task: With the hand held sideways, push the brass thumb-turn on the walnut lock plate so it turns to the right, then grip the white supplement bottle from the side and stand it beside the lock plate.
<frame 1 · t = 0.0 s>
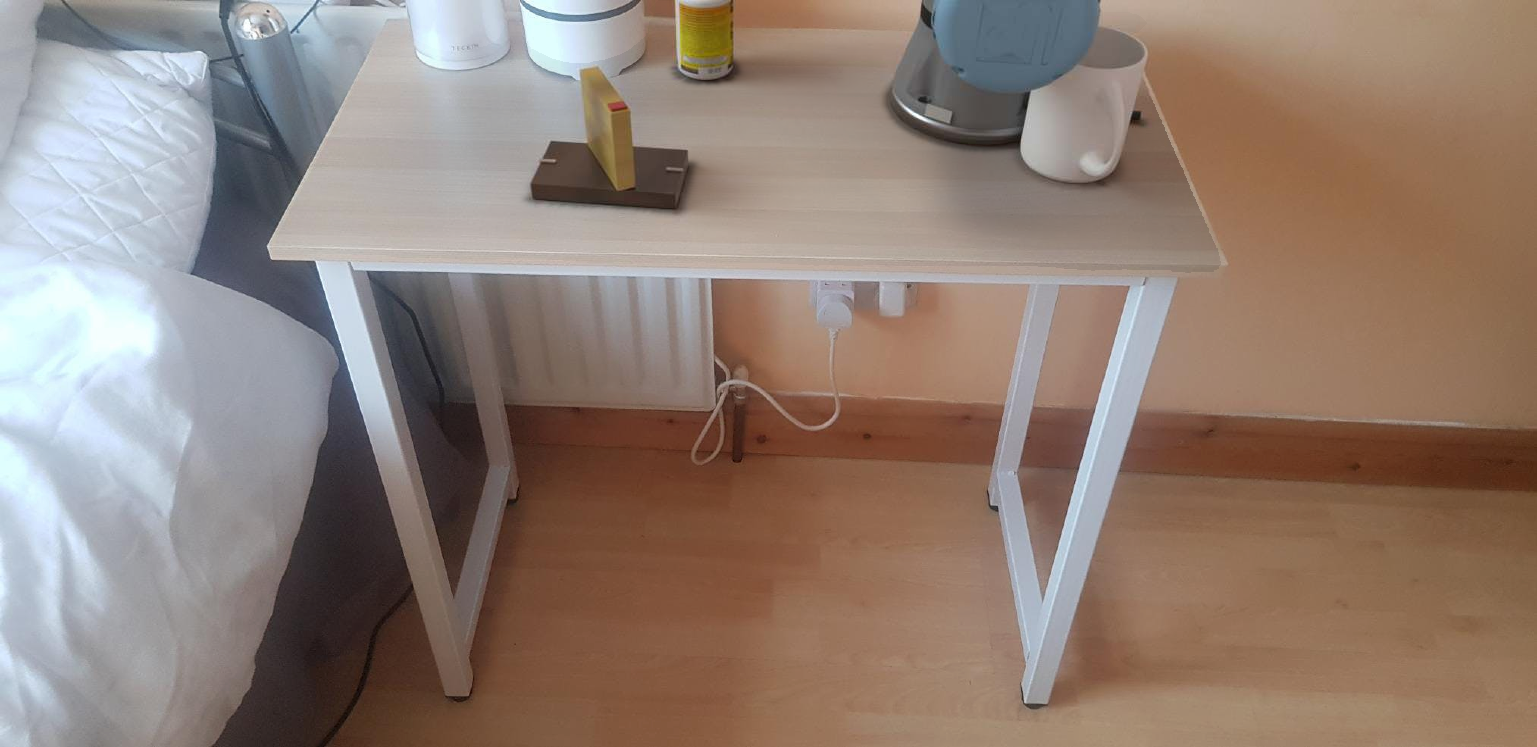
supplement bottle: (705, 71, 108), on the table
mug: (1074, 172, 95), on the table
lock turn: (607, 127, 88), point 5 cm above the table, hinge at 120.0°
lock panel: (612, 181, 92), on the table
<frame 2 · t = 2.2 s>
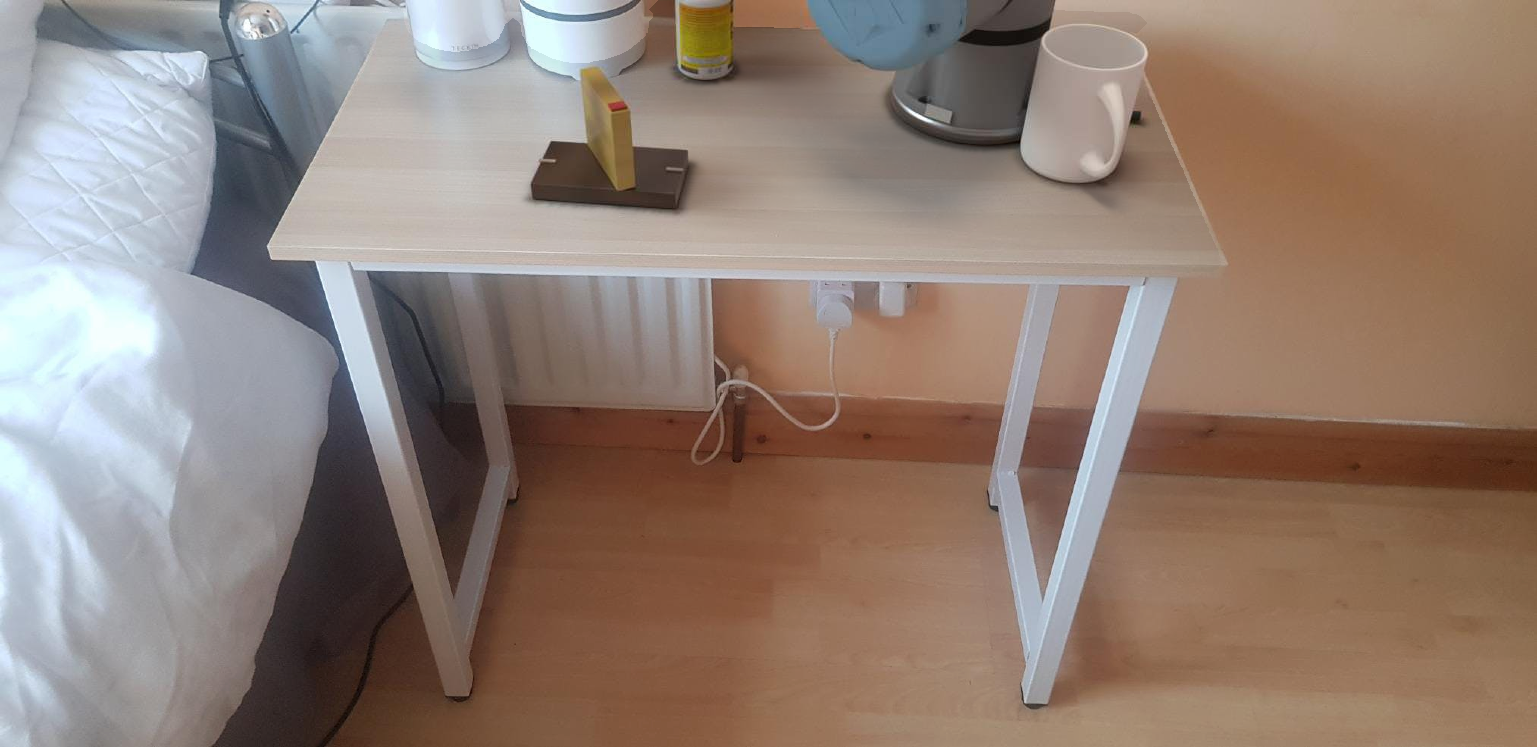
nothing on the table moved.
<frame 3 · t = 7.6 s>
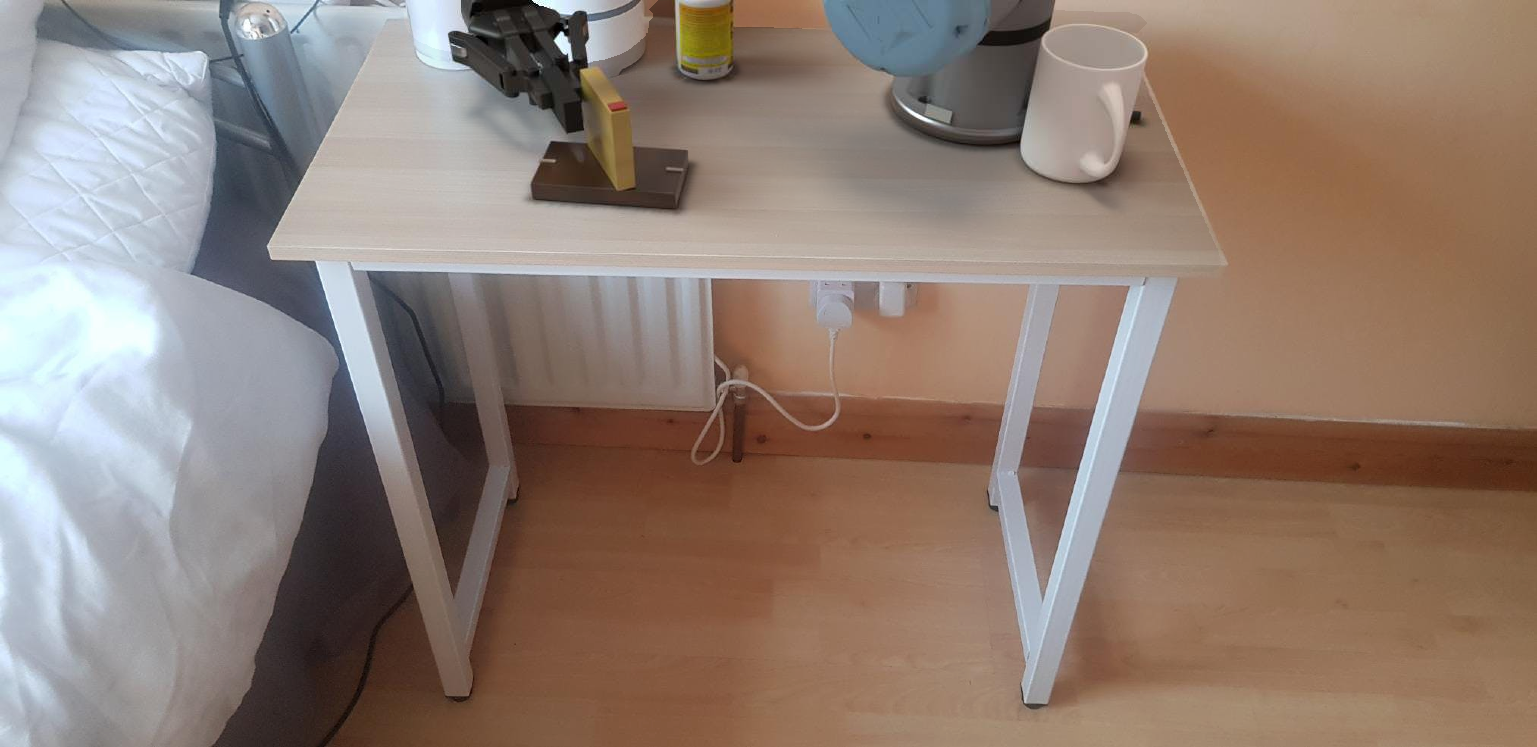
hand: (573, 117, 87), 6 cm above the table, tool horizontal, fingers closed
lock turn: (607, 127, 88), point 5 cm above the table, hinge at 120.0°, touching gripper
everything else where it was.
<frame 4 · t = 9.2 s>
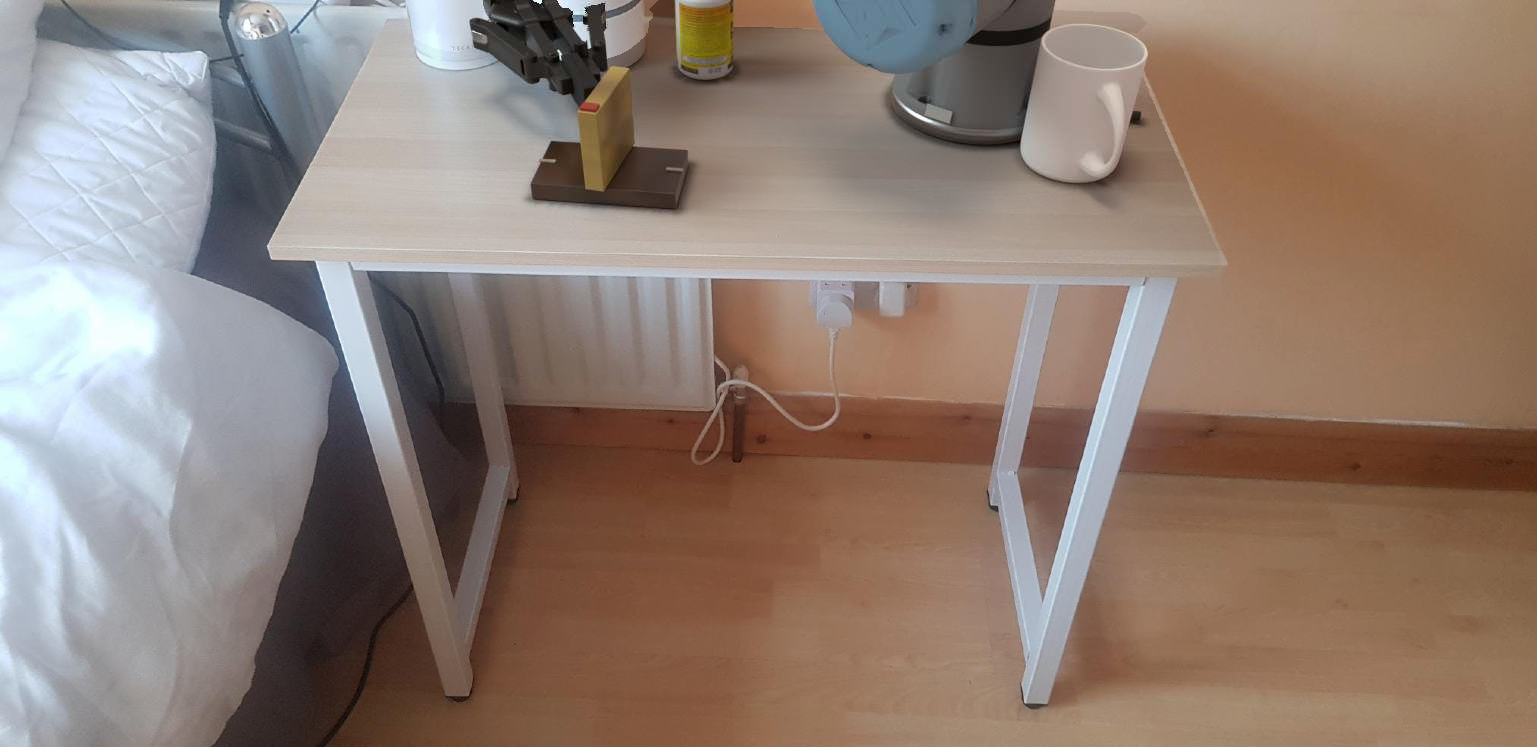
hand: (593, 102, 88), 7 cm above the table, tool horizontal, fingers closed
lock turn: (607, 127, 88), point 5 cm above the table, hinge at 82.2°, touching gripper
everything else where it was.
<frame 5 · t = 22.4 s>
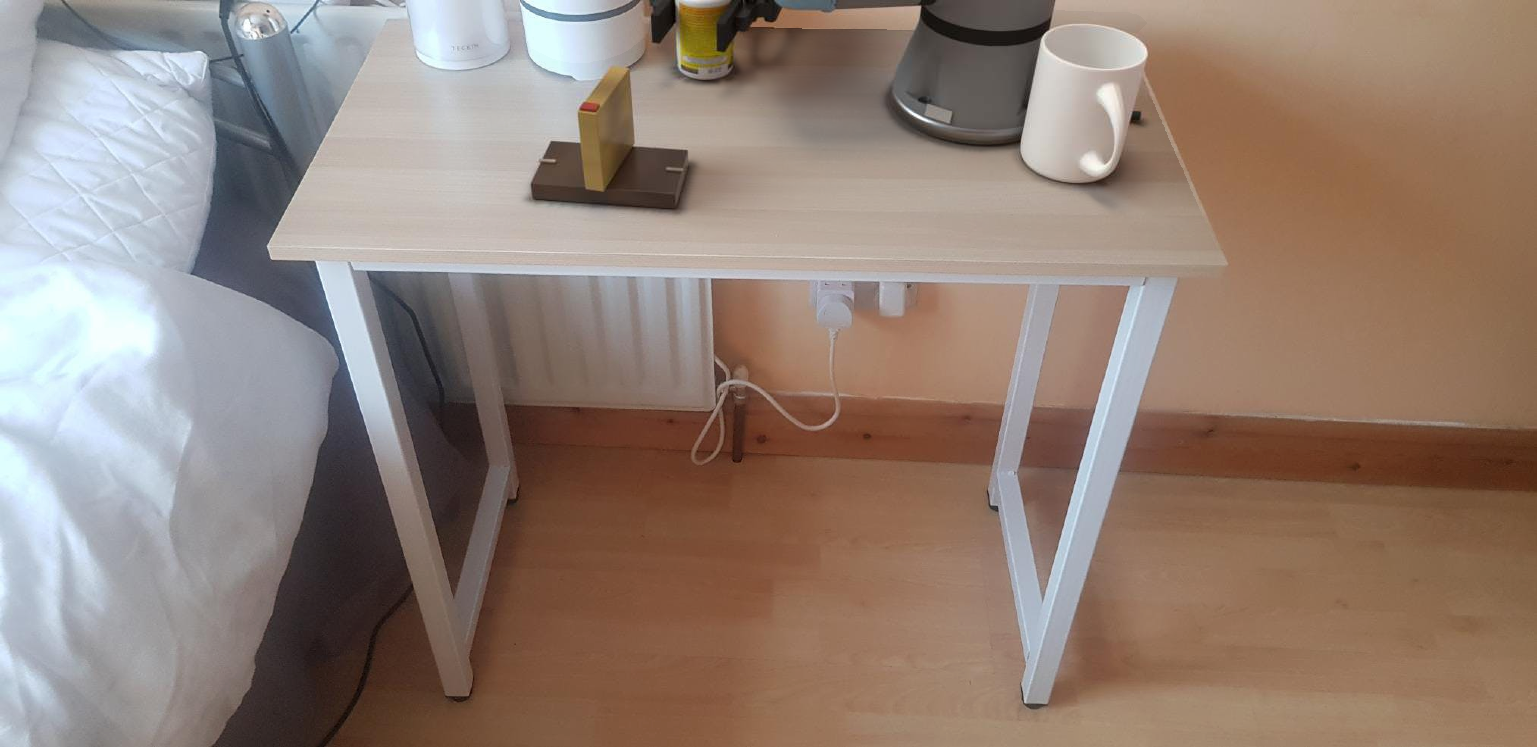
hand: (687, 33, 100), 6 cm above the table, tool horizontal, fingers closed on supplement bottle, 6 cm apart
supplement bottle: (705, 71, 108), on the table, touching gripper
lock turn: (607, 127, 88), point 5 cm above the table, hinge at 82.2°
everything else where it was.
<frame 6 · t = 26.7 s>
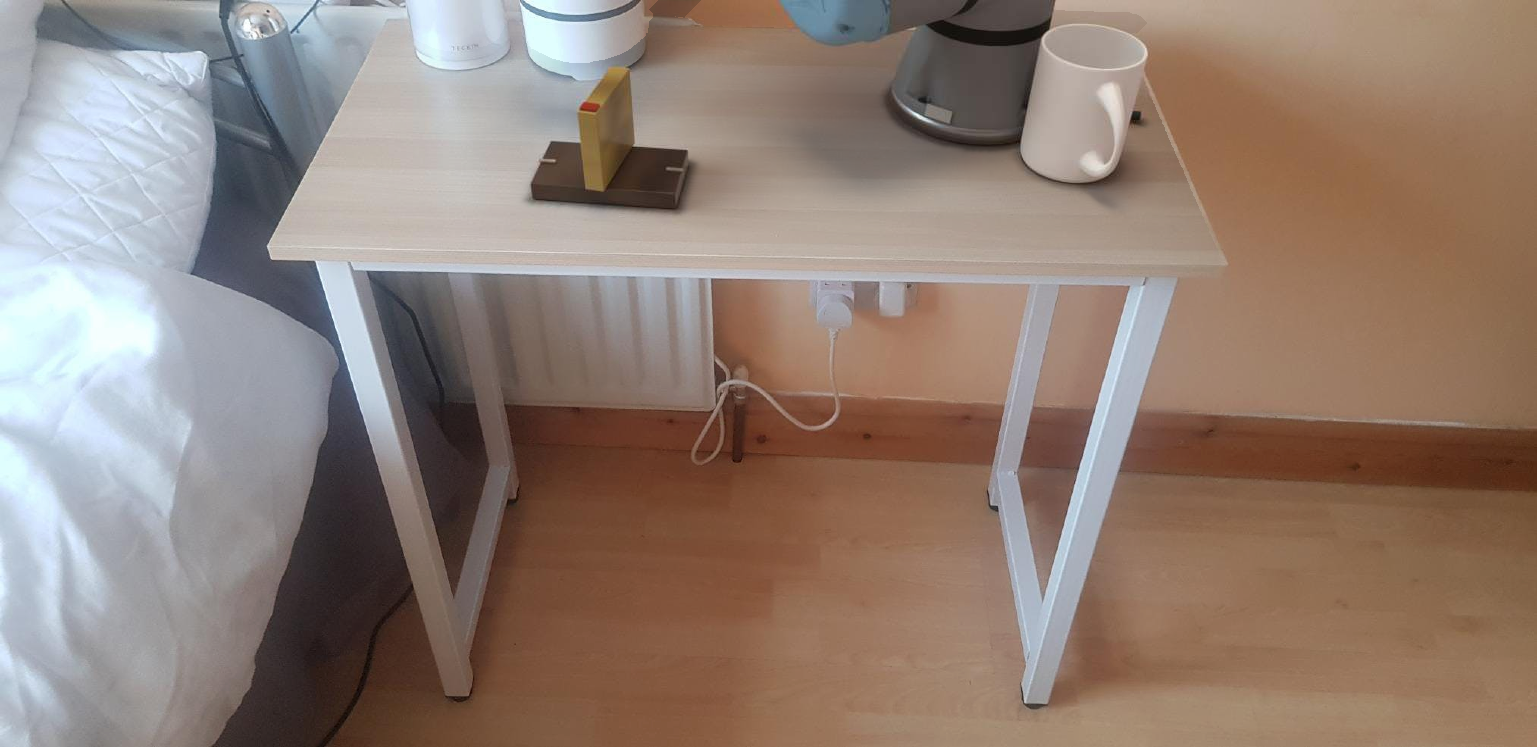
when the fingers open (6 cm above the table, at t = 31.4 s): supplement bottle stays where it is, on the table.
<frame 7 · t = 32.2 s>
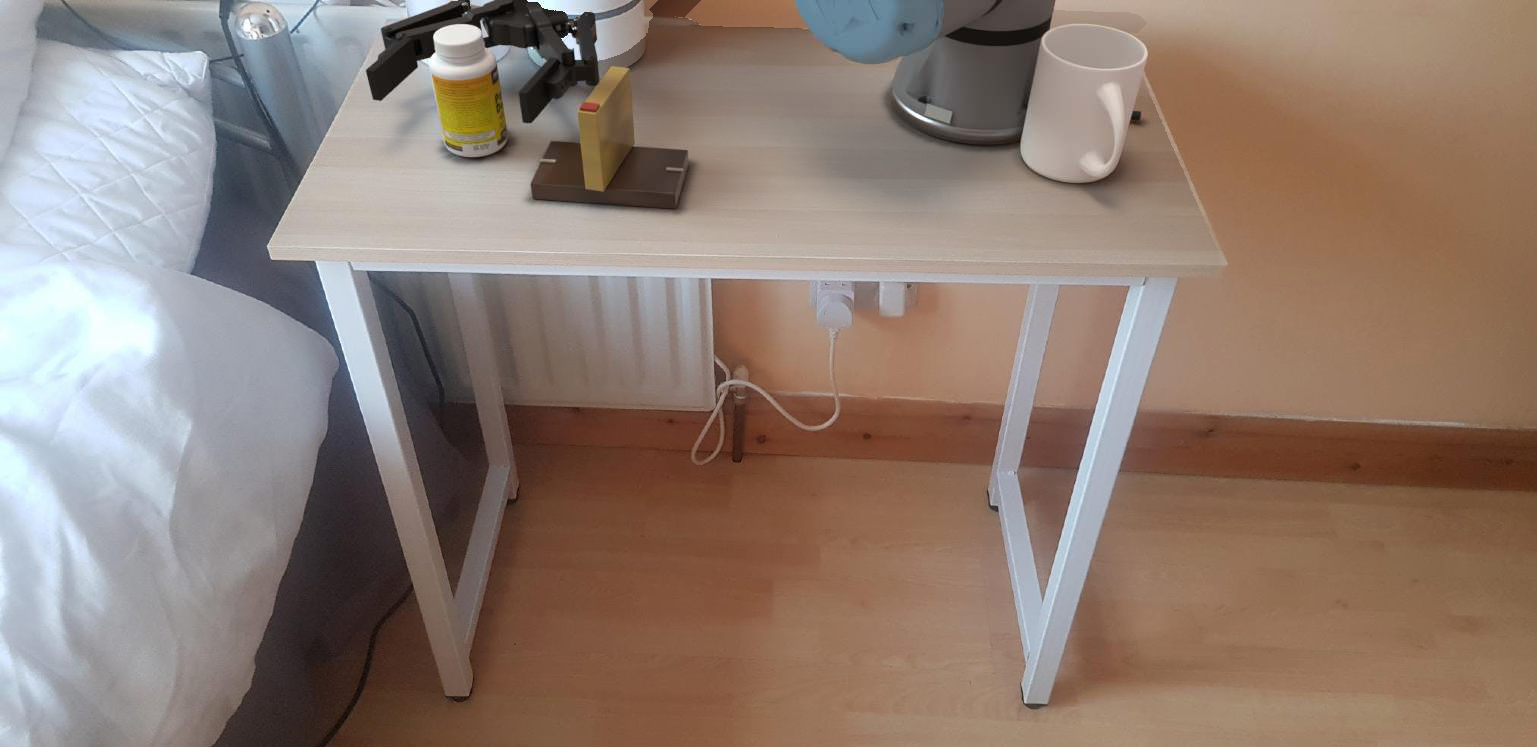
hand: (447, 97, 89), 6 cm above the table, tool horizontal, fingers open, 13 cm apart
supplement bottle: (477, 146, 96), on the table
everything else where it was.
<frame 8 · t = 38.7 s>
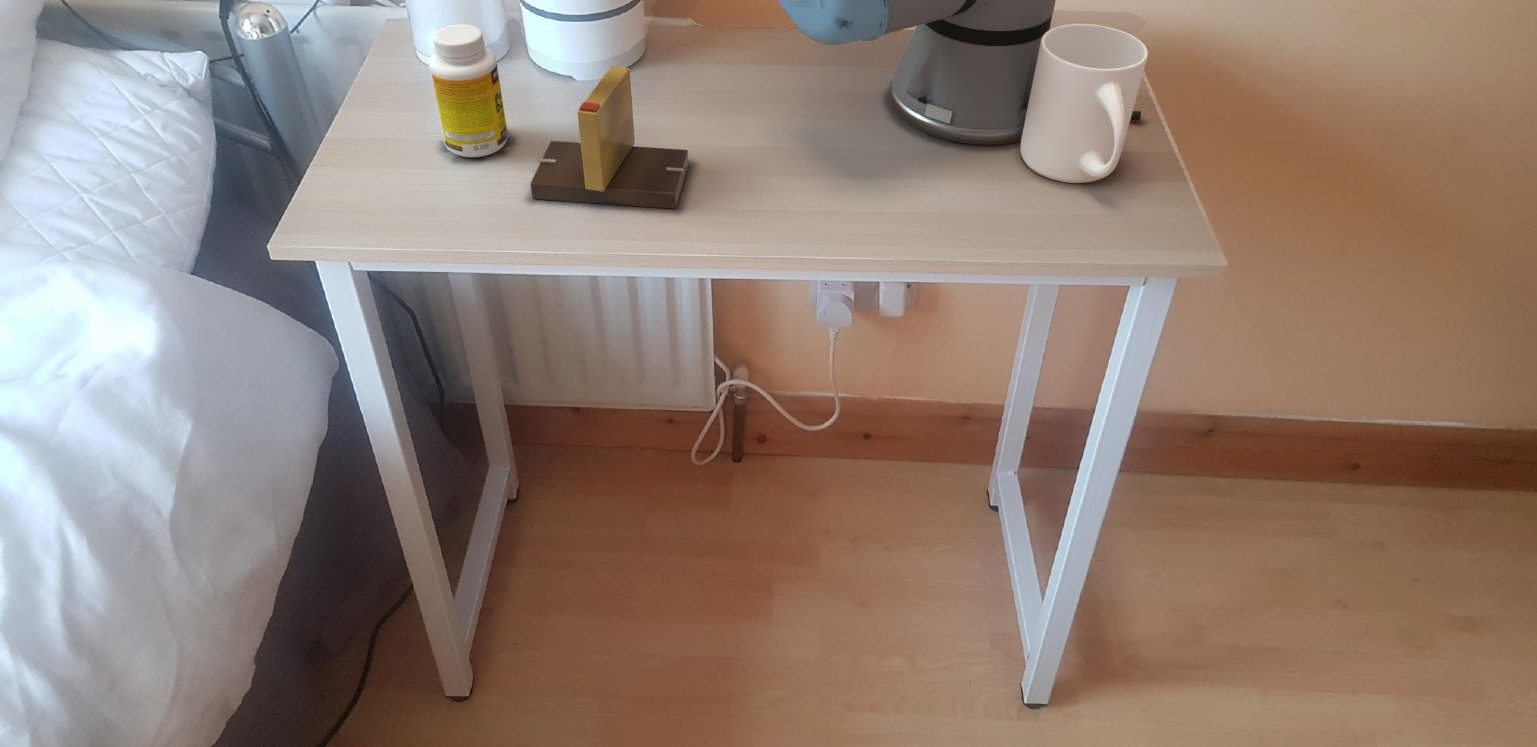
nothing on the table moved.
at the end: lock turn at +82° (first picture: +120°); supplement bottle inside the target area on the table beside the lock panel (0.1 cm from its centre), on the table; supplement bottle tilted 0° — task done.
